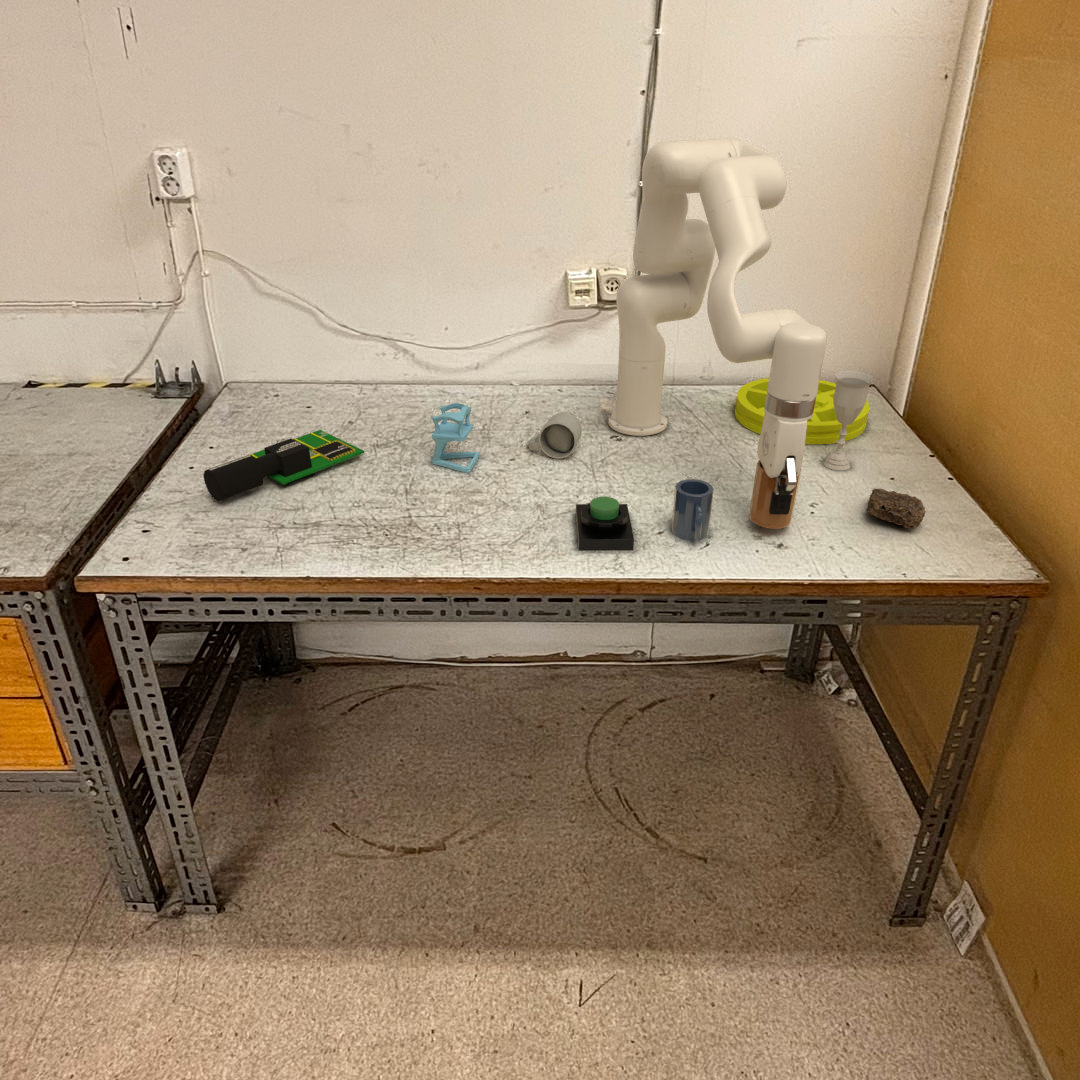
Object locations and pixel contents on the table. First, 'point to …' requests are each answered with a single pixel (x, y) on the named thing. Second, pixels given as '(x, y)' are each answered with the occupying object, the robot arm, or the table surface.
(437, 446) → the chair
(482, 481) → the table surface
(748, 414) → the pulley
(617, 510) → the button
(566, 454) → the ceramic mug
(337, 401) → the table surface
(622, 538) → the button box
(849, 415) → the chalice
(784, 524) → the glass
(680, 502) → the mug
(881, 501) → the concrete sample
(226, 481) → the circuit board with cylinder
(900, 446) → the table surface
